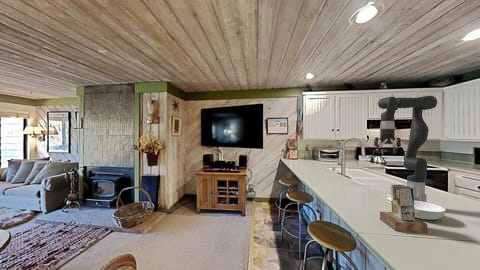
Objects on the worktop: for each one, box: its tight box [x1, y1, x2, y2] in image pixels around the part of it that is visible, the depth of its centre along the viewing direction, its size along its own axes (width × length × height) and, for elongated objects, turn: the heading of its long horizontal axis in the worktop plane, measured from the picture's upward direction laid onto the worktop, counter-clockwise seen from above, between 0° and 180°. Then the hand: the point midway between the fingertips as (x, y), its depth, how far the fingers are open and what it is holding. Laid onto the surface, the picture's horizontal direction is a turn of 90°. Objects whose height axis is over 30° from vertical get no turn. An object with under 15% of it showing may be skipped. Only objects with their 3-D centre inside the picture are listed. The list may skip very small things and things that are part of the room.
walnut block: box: [379, 210, 428, 234], centre depth 104 cm, size 14×14×5 cm
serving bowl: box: [414, 200, 447, 221], centre depth 117 cm, size 21×21×7 cm
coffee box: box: [389, 184, 416, 221], centre depth 105 cm, size 9×6×16 cm
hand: (387, 153), depth 128 cm, fingers open, 8 cm apart
